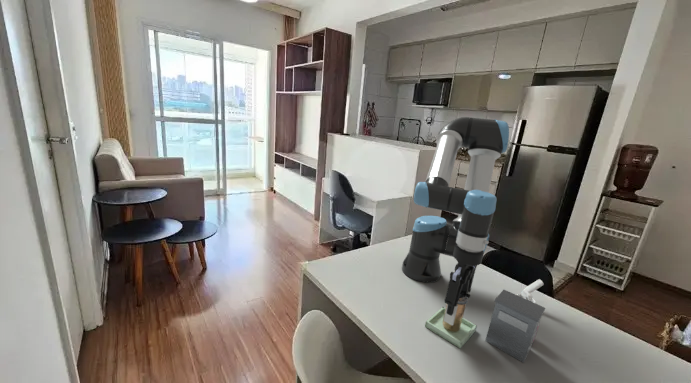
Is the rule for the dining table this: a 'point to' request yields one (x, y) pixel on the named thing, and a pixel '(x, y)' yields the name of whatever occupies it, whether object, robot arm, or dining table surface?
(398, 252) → the dining table surface
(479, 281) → the dining table surface
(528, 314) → the box
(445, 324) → the amber cylinder
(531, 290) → the hook
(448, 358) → the dining table surface
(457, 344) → the tray
